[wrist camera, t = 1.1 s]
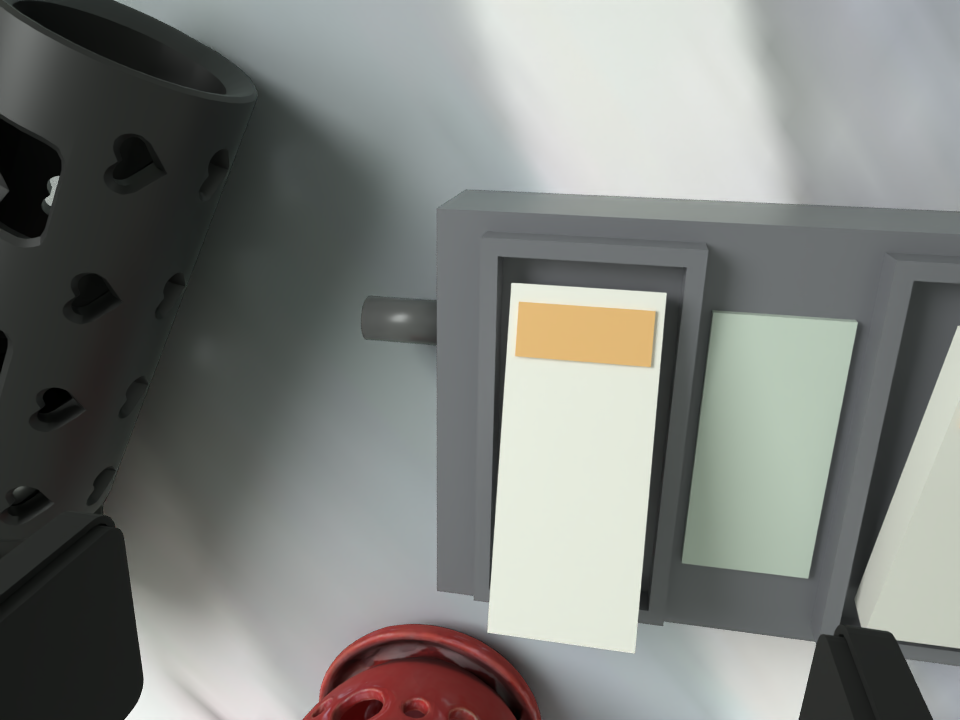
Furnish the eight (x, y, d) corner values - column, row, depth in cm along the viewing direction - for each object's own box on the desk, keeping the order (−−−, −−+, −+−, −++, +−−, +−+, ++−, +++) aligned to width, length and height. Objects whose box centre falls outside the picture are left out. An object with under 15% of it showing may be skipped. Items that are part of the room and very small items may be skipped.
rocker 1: (517, 283, 27) (511, 282, 26) (663, 293, 26) (666, 292, 25) (494, 613, 28) (486, 634, 27) (633, 633, 27) (634, 655, 26)
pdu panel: (383, 185, 32) (329, 209, 27) (1123, 219, 28) (1249, 255, 22) (391, 519, 38) (348, 597, 32) (1010, 593, 33) (1087, 700, 28)
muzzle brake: (314, 99, 32) (177, 108, 22) (122, 573, 43) (-27, 716, 33) (112, -17, 32) (-112, -57, 22) (-30, 487, 43) (-222, 606, 33)
